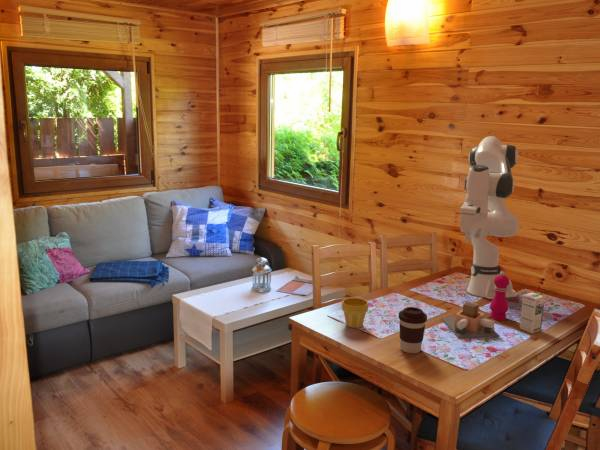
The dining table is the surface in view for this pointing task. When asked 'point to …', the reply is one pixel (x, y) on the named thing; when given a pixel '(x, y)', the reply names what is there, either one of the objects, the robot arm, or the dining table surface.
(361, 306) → the plant pot
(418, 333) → the coffee cup
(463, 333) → the grey base with box
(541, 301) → the syrup box
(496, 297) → the pepper mill
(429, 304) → the dining table surface
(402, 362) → the dining table surface
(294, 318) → the dining table surface
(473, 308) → the walnut coupler
